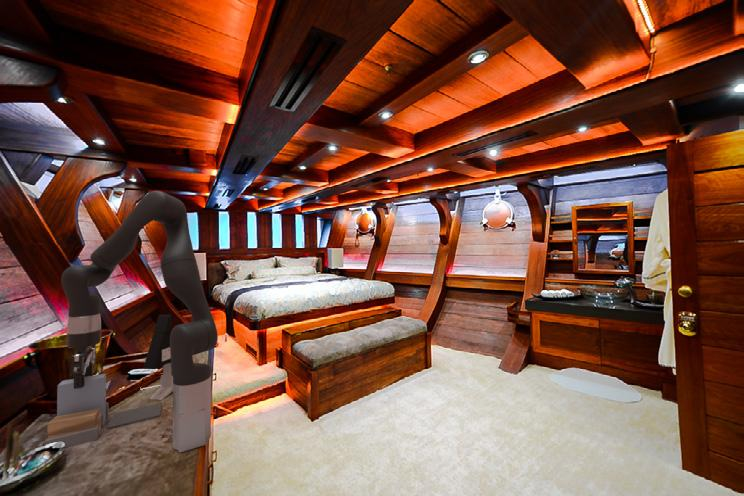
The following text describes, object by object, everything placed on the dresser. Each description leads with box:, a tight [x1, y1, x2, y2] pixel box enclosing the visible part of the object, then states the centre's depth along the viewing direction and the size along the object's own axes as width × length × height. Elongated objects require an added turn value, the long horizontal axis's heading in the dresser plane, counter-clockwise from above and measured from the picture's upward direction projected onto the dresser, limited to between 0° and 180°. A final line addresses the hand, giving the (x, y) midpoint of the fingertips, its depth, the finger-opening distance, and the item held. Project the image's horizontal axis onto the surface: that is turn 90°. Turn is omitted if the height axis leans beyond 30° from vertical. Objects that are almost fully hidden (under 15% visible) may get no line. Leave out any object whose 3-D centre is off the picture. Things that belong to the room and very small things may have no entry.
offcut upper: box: [47, 408, 101, 437], centre depth 85 cm, size 4×10×4 cm, turn 115°
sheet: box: [56, 373, 107, 426], centre depth 90 cm, size 4×10×15 cm, turn 122°
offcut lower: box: [47, 420, 102, 439], centre depth 85 cm, size 4×10×4 cm, turn 121°
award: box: [143, 314, 173, 401], centre depth 113 cm, size 15×5×30 cm, turn 168°
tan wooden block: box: [44, 401, 109, 448], centre depth 88 cm, size 13×11×5 cm
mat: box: [106, 402, 163, 431], centre depth 97 cm, size 10×13×1 cm
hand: (83, 382), depth 91 cm, fingers open, 8 cm apart
